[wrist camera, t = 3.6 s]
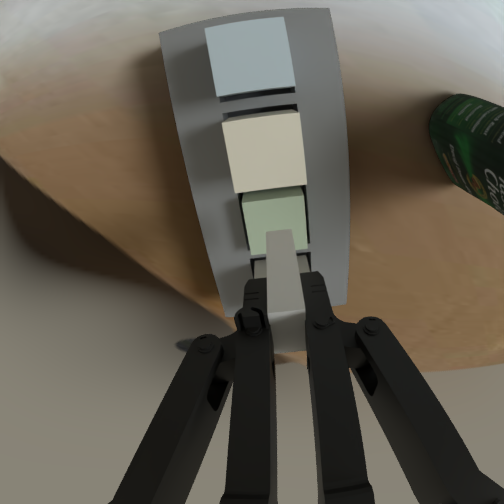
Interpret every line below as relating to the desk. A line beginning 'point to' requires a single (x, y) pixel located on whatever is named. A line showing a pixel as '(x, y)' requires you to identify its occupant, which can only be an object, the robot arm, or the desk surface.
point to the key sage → (274, 215)
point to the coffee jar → (471, 146)
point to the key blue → (250, 56)
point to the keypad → (296, 98)
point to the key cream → (265, 150)
